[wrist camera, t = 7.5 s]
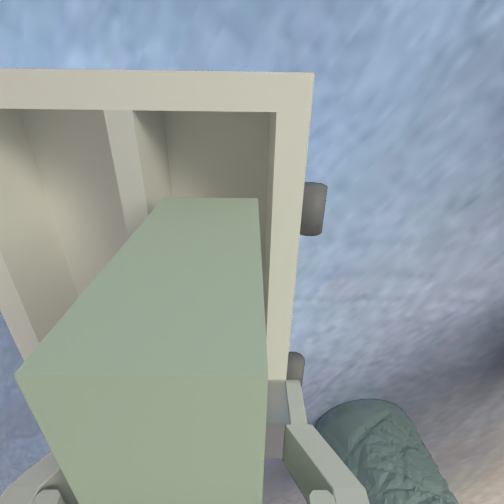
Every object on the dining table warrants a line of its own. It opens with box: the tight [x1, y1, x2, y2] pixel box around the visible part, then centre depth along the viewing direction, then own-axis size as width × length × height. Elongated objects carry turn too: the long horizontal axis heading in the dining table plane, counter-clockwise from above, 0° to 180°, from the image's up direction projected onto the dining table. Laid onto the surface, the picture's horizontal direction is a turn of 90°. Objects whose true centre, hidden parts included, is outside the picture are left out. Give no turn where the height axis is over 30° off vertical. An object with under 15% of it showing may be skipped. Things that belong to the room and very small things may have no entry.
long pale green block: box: [13, 197, 268, 504], centre depth 10 cm, size 12×4×8 cm, turn 179°
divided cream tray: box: [0, 68, 327, 387], centre depth 17 cm, size 20×15×5 cm
